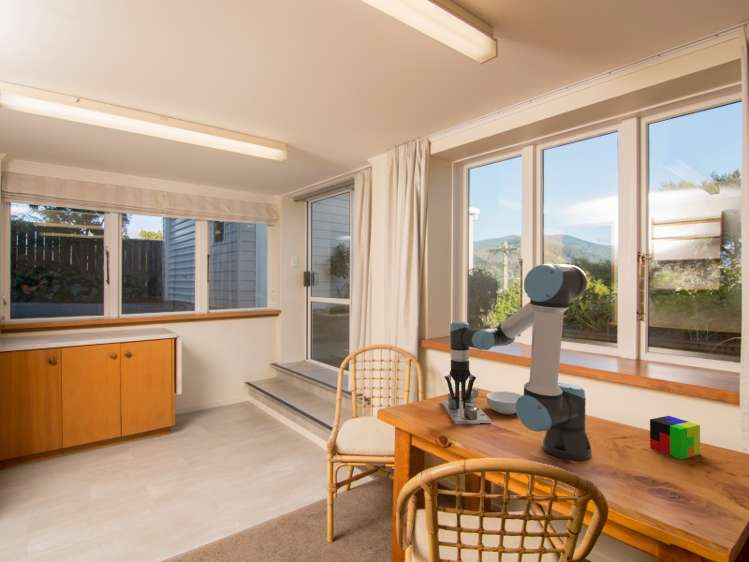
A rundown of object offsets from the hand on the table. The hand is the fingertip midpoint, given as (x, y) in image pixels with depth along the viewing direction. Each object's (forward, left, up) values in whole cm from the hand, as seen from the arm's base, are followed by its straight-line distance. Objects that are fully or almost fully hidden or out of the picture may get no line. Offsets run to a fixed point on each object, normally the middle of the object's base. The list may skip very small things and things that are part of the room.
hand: (460, 416), depth 161 cm
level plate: (+14, -5, -3) cm, 15 cm away
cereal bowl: (+14, -24, -4) cm, 28 cm away
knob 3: (+3, -5, -2) cm, 6 cm away
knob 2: (+27, -12, -2) cm, 30 cm away
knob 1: (+19, -1, -1) cm, 19 cm away
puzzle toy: (-29, -67, -4) cm, 73 cm away
